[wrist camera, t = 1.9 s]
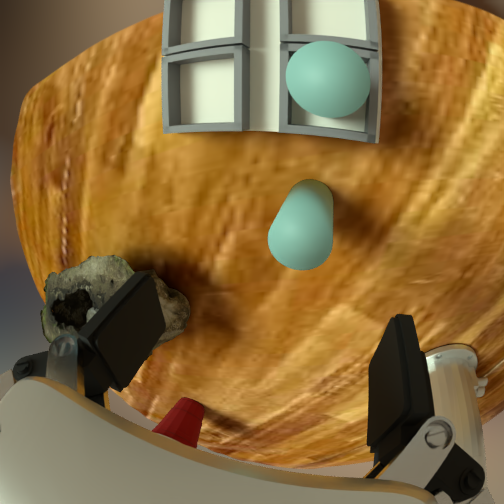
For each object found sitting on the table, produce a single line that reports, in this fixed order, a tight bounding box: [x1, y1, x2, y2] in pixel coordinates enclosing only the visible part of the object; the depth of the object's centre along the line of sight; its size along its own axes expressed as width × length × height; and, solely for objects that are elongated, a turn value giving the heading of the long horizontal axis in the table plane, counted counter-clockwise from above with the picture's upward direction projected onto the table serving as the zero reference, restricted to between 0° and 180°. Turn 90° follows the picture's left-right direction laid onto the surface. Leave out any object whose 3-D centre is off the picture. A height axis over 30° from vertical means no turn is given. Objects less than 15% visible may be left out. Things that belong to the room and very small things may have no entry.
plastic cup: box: [152, 397, 205, 448], centre depth 45 cm, size 11×11×12 cm
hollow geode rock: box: [40, 255, 190, 360], centre depth 33 cm, size 28×13×15 cm
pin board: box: [162, 0, 382, 143], centre depth 14 cm, size 18×14×10 cm
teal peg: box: [268, 179, 333, 270], centre depth 20 cm, size 4×4×8 cm
